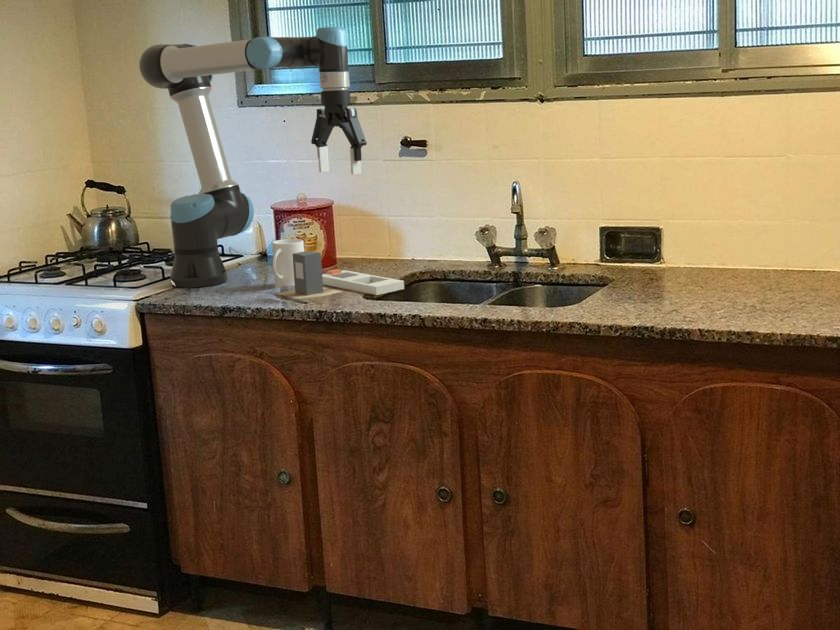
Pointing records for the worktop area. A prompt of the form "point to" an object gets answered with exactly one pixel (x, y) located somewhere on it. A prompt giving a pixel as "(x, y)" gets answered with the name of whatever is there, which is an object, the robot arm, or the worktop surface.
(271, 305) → the worktop surface
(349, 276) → the strip
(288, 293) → the trivet
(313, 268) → the block
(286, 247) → the mug
